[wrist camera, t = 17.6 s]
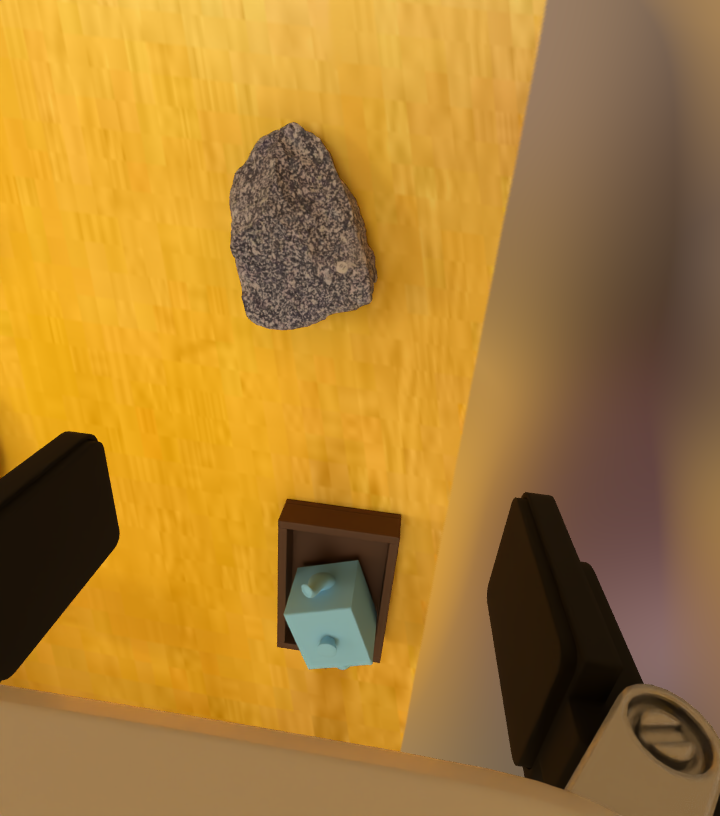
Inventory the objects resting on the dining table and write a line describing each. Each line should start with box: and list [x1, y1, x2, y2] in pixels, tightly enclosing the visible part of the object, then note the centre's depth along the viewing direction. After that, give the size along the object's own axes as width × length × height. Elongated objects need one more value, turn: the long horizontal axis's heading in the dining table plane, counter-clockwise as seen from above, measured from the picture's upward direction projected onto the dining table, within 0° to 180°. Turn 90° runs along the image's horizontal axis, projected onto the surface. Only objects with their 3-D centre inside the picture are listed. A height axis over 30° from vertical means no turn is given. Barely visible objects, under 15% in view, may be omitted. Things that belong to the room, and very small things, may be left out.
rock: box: [230, 122, 377, 330], centre depth 32 cm, size 12×5×10 cm
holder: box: [277, 499, 401, 663], centre depth 46 cm, size 17×11×3 cm, turn 175°
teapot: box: [284, 560, 377, 670], centre depth 44 cm, size 12×6×8 cm, turn 15°
